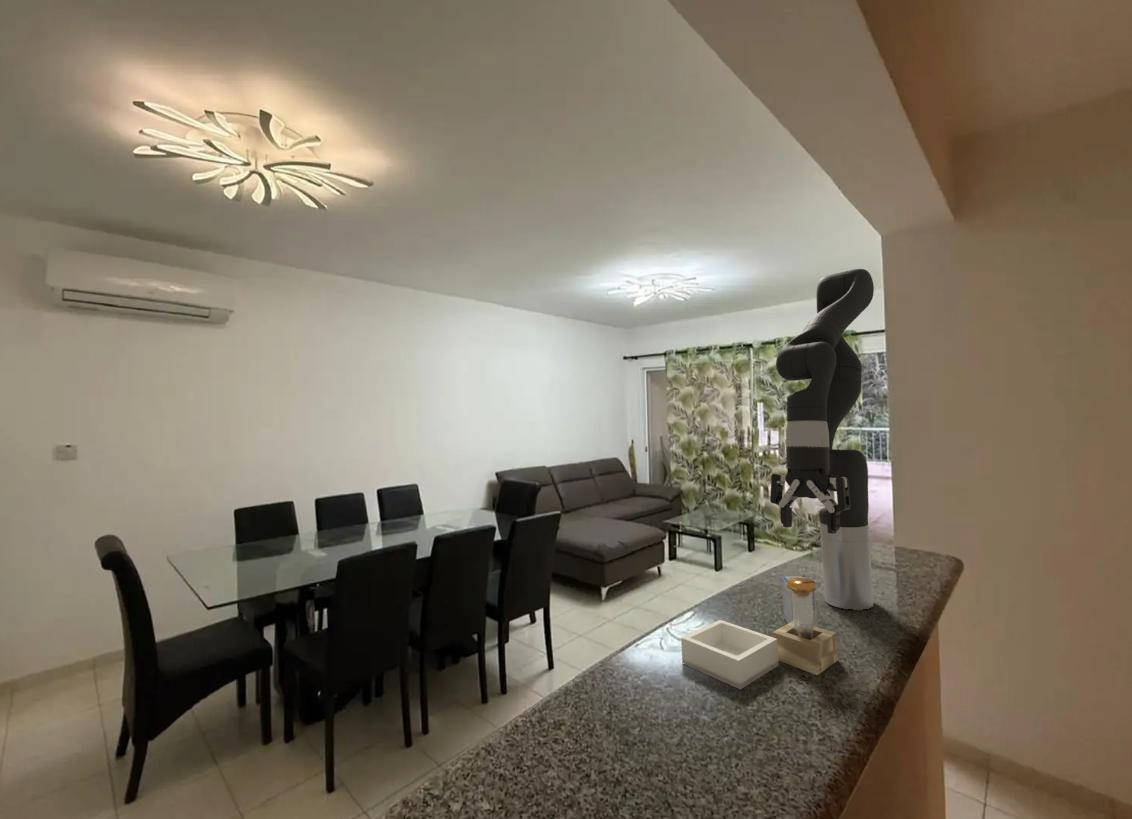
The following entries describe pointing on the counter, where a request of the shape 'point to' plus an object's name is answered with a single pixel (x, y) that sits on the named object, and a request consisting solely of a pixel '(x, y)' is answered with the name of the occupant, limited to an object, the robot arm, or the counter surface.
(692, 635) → the tray
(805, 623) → the pin
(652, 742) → the counter surface
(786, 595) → the medicine box
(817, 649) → the pin block
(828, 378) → the robot arm
